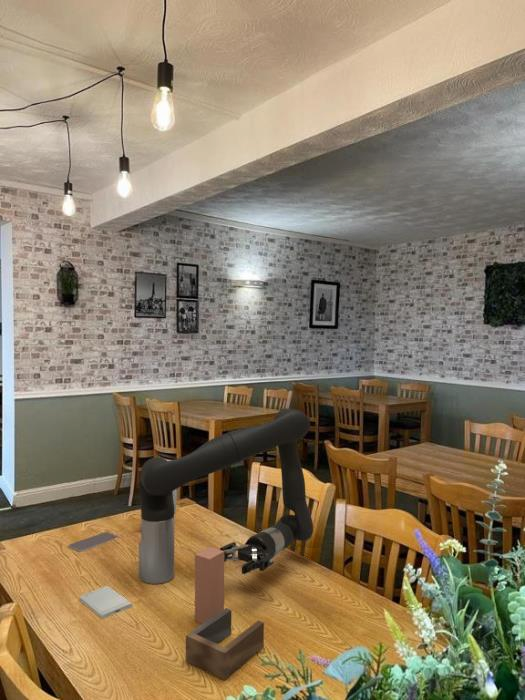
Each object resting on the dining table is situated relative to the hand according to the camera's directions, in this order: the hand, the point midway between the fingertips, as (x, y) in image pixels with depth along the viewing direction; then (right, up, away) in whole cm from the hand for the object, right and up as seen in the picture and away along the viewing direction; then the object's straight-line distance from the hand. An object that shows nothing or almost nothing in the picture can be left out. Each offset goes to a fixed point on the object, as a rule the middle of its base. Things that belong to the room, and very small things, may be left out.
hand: (229, 565), depth 131 cm
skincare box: (-29, -9, +57) cm, 65 cm away
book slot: (+1, -11, -19) cm, 22 cm away
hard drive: (-32, -11, +1) cm, 33 cm away
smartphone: (-47, -9, +39) cm, 62 cm away
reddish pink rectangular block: (-4, -10, -6) cm, 13 cm away
